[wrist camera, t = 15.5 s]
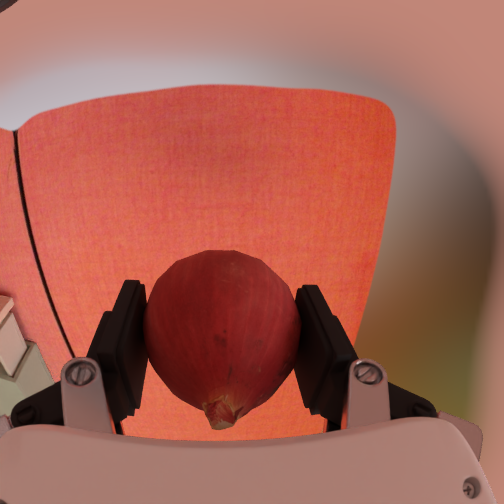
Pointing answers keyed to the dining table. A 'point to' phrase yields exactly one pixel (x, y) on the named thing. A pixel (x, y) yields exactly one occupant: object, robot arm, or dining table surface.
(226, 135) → the dining table surface
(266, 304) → the onion
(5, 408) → the cabinet
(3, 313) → the drawer
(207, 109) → the dining table surface
